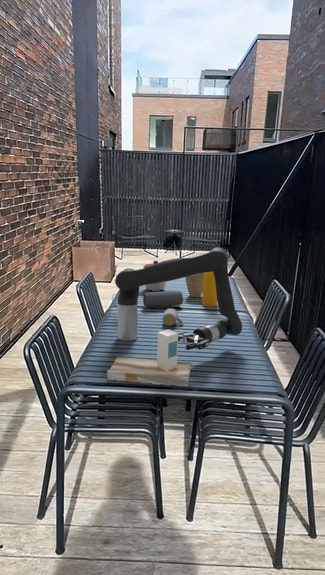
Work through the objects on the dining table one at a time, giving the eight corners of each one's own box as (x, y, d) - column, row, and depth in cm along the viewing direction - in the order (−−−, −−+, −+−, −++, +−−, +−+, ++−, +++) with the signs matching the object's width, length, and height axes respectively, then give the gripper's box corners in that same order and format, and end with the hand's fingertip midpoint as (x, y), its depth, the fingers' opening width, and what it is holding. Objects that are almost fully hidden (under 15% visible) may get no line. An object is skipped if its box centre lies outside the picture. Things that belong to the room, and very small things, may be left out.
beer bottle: (212, 307, 238) (215, 261, 231) (199, 304, 243) (201, 259, 236) (219, 304, 245) (222, 259, 238) (206, 301, 250) (209, 257, 243)
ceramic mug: (161, 326, 203) (162, 312, 201) (163, 321, 211) (164, 307, 209) (182, 328, 202) (182, 313, 200) (183, 322, 210) (184, 309, 208)
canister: (158, 294, 265) (159, 263, 260) (137, 290, 275) (137, 260, 270) (172, 289, 280) (173, 260, 275) (151, 285, 290) (152, 257, 285)
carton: (157, 366, 151) (157, 332, 148) (167, 362, 155) (168, 329, 151) (166, 371, 147) (167, 336, 144) (177, 367, 151) (178, 333, 147)
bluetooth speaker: (177, 304, 244) (178, 288, 241) (183, 308, 235) (183, 292, 233) (142, 306, 237) (142, 290, 234) (146, 311, 228) (147, 294, 226)
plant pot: (191, 292, 273) (192, 270, 269) (210, 296, 264) (211, 273, 260) (179, 296, 261) (180, 273, 257) (198, 300, 252) (200, 276, 249)
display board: (117, 362, 159) (117, 354, 158) (190, 368, 155) (191, 360, 154) (107, 380, 144) (107, 371, 143) (188, 387, 140) (188, 378, 139)
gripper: (194, 322, 168) (166, 330, 157) (219, 331, 158) (192, 340, 147) (193, 338, 170) (166, 347, 159) (218, 348, 160) (191, 359, 149)
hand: (178, 344), depth 153 cm, fingers open, 8 cm apart
